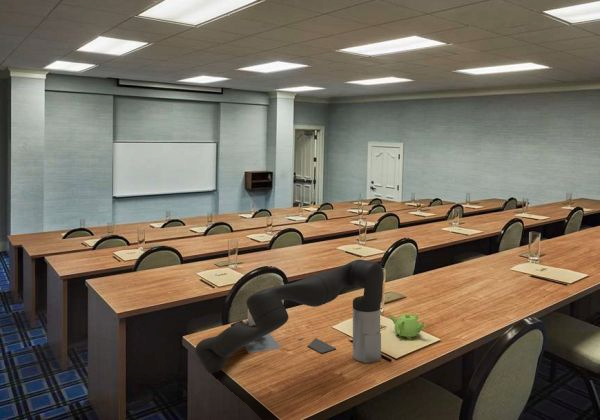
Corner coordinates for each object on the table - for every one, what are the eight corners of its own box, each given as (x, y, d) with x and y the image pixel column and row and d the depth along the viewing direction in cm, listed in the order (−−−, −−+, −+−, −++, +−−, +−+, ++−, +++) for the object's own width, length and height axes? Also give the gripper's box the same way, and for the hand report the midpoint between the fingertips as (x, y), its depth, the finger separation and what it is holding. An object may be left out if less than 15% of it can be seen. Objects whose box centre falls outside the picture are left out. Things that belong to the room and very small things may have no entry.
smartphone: (321, 353, 164) (296, 339, 176) (321, 355, 164) (296, 341, 176) (336, 348, 168) (311, 335, 180) (336, 350, 168) (311, 337, 180)
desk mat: (281, 349, 169) (281, 347, 169) (248, 354, 165) (248, 353, 165) (264, 328, 189) (264, 327, 189) (235, 333, 185) (235, 331, 185)
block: (259, 311, 173) (260, 337, 174) (265, 307, 178) (266, 333, 179) (247, 309, 175) (248, 335, 176) (254, 305, 179) (254, 331, 181)
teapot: (395, 341, 174) (395, 319, 173) (389, 330, 185) (389, 309, 185) (426, 341, 174) (426, 318, 173) (417, 329, 186) (417, 308, 185)
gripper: (219, 344, 166) (243, 328, 182) (255, 350, 161) (277, 333, 176) (218, 323, 165) (242, 309, 181) (255, 328, 160) (276, 313, 176)
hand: (259, 321), depth 179 cm, fingers closed on block, 5 cm apart
